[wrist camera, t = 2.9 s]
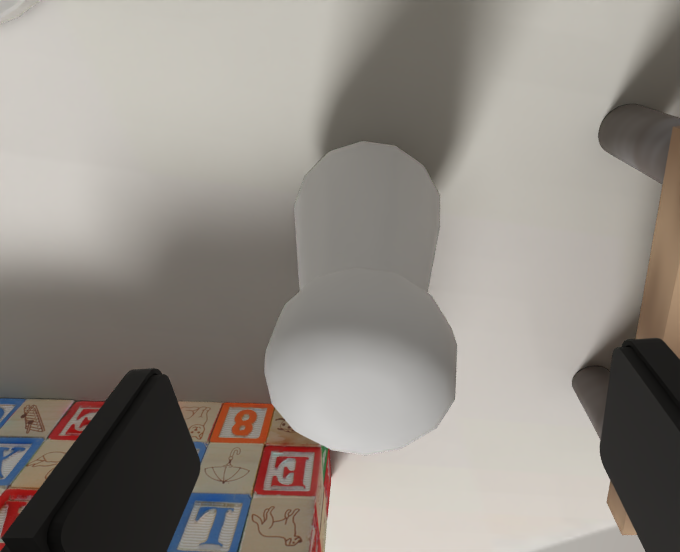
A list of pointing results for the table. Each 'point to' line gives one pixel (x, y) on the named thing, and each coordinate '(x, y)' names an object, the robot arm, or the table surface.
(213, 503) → the stack of blocks
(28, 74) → the table surface
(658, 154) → the shelf
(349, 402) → the salt shaker
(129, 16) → the table surface
